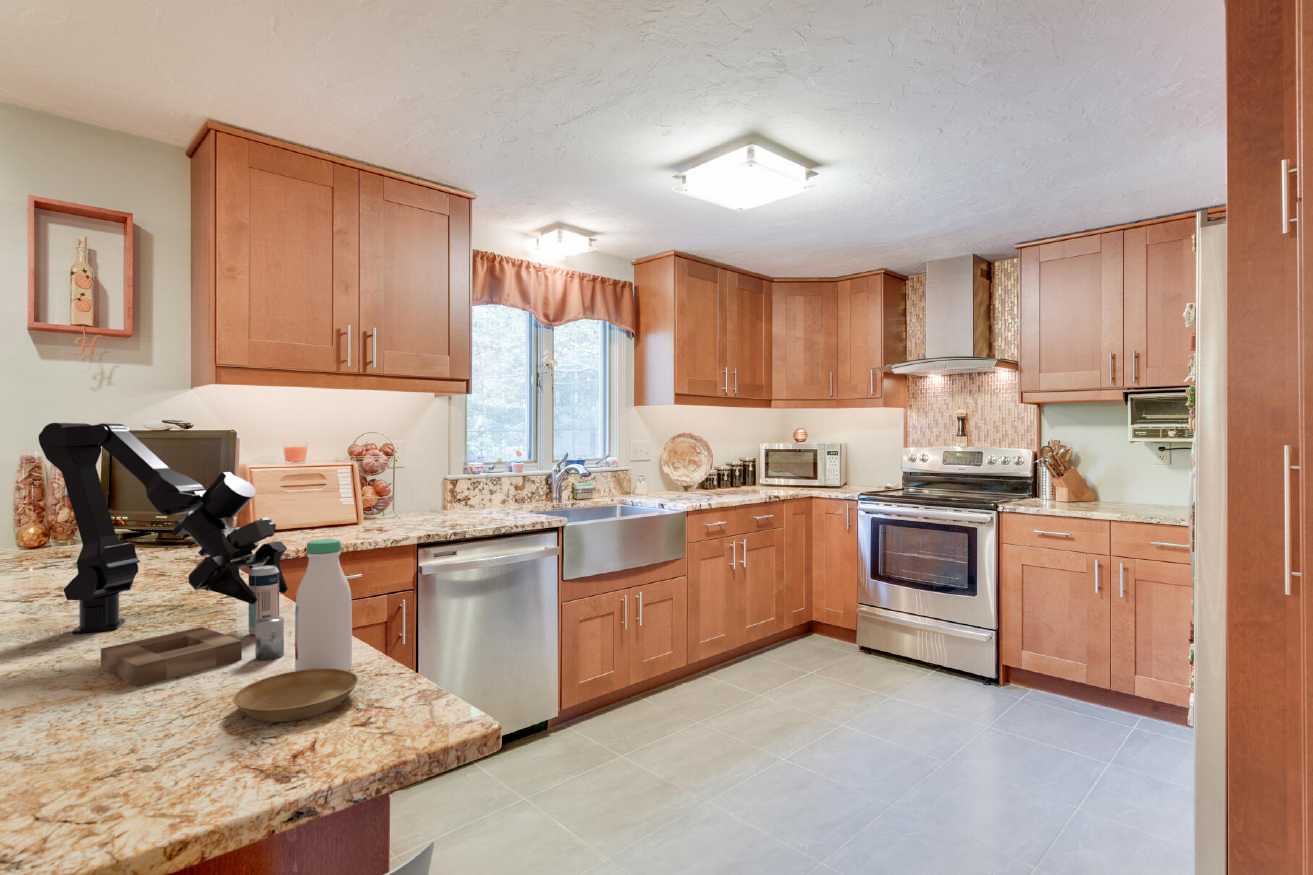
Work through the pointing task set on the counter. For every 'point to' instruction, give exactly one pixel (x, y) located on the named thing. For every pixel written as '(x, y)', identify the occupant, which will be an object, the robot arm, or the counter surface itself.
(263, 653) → the short steel pin
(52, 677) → the counter surface
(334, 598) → the milk bottle
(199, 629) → the walnut collar
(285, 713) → the plant saucer
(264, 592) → the beer can
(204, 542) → the robot arm
